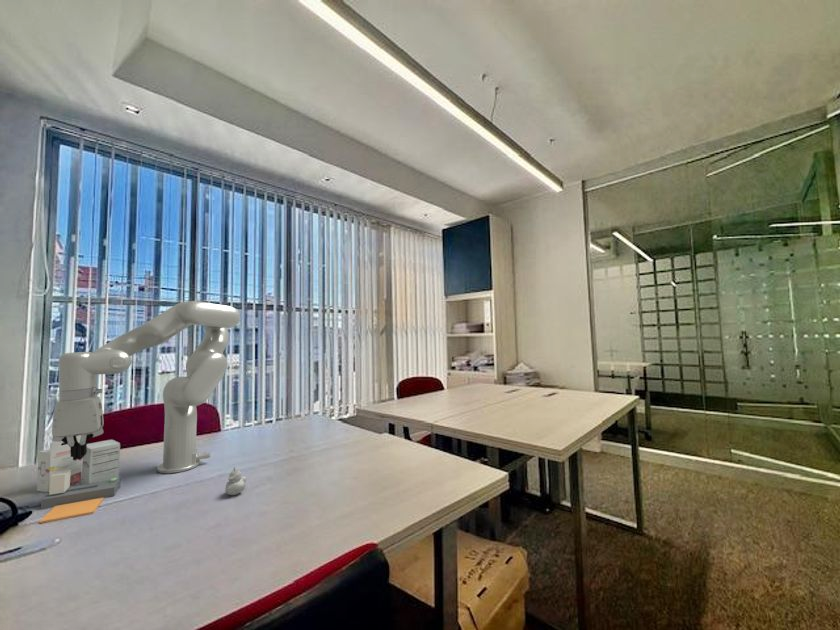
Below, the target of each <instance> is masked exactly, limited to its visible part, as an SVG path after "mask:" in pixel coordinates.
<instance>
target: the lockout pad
mask: <svg viewBox="0 0 840 630" xmlns="http://www.w3.org/2000/svg"><path fill="white" fill-rule="evenodd" d="M104 499H105V498H104V497H103V498H98V499H92V500H86V501H81V502H75V503H70V504H64V505H58V506H55V507H52V508H51V510H50V511H49V512H47V514H45V515H44V516H43V518H42V519H41V520H39V525H40V523H41V524H45V523H50V522H55V521H60V520H61V521H62V520H65V519H71V518H76V517H81V516H87V515H92V514H94V513H95V512H96V510H97V509H98V507H100V505H101V503H102V502H103V501H104Z"/></svg>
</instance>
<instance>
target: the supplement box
mask: <svg viewBox="0 0 840 630" xmlns="http://www.w3.org/2000/svg"><path fill="white" fill-rule="evenodd" d="M120 454H121V443H120V442H118V441H116V440H114V439H107V440H101V441H96V442H91V443H87V453H86V455H84V457H83V458H82V467H81V482H80V485H84V484H90V483H96V482H103V481H109V480H110V479H111V478H114V477H116V478H117V479H120V477H119V476H120V456H121V455H120Z"/></svg>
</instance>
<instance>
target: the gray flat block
mask: <svg viewBox="0 0 840 630" xmlns="http://www.w3.org/2000/svg"><path fill="white" fill-rule="evenodd" d="M121 481H122V480H121V478H119V479H117V478H116V477H114V478H111V479H110V480H109V481H103V482H96V483H90V484H84V485H81V484H78V485H73V486H70V487H69V488H68V489H67V490H66V491H65V492H64V493H58V494H52V495H49V492H47V494H46V495H45V496H44V497H43V498H41V500H40V503H41V504H40V509H41V510H44V509H49V508H54V507H55V506H58V505H64V504H70V503H75V502H81V501H86V500H92V499H98V498H103V497H104V499H105V498H111V497H112V498H113V497H115V495H116V494H117V492H118V490H119V489H120V488H121Z"/></svg>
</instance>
